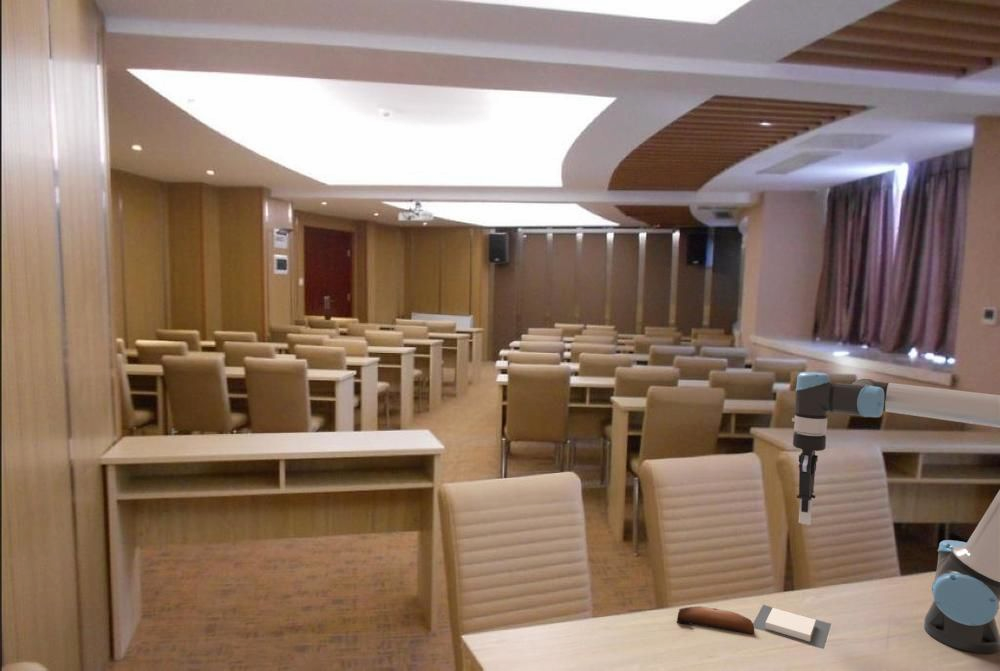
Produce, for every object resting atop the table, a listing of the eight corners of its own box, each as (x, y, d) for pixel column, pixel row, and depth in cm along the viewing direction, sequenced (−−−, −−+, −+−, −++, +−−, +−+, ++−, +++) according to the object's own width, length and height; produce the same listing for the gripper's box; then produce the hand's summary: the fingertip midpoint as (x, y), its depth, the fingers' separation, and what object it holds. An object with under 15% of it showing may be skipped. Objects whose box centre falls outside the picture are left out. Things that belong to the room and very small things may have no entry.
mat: (830, 626, 160) (830, 623, 160) (823, 651, 148) (823, 648, 148) (763, 606, 168) (763, 604, 168) (751, 629, 157) (751, 626, 157)
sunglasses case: (750, 620, 161) (753, 604, 158) (752, 646, 156) (755, 630, 152) (677, 608, 166) (678, 592, 163) (676, 633, 161) (676, 617, 157)
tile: (815, 619, 158) (810, 635, 150) (815, 626, 158) (809, 642, 150) (772, 607, 163) (765, 622, 156) (772, 614, 163) (764, 629, 156)
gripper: (797, 426, 171) (793, 513, 172) (789, 435, 160) (784, 527, 161) (829, 430, 167) (824, 519, 168) (822, 439, 156) (817, 533, 157)
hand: (804, 523), depth 165 cm, fingers closed
